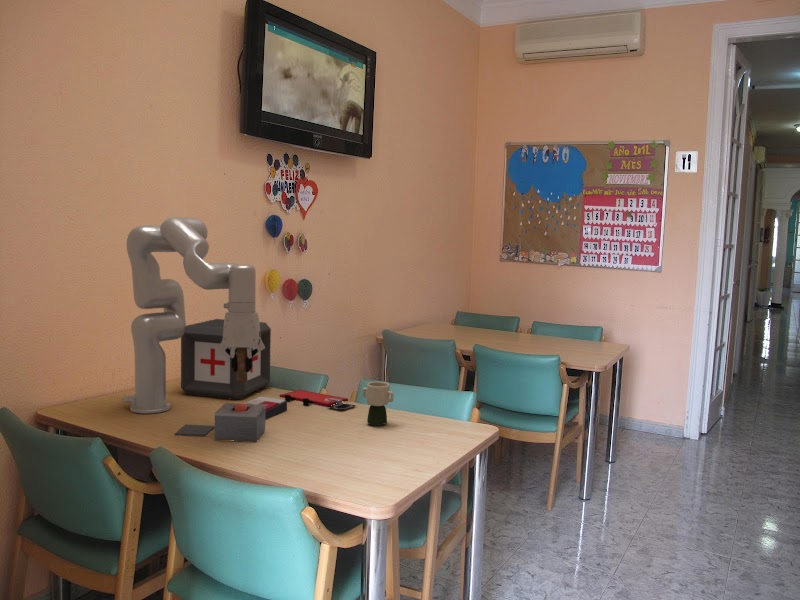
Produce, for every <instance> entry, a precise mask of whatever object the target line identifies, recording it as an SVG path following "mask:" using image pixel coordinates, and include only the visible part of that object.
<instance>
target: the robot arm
mask: <svg viewBox="0 0 800 600" xmlns="http://www.w3.org/2000/svg"><path fill="white" fill-rule="evenodd" d="M207 238H208V228H207V226H206V224H205V222H204V221H203V220H201V219H200V218H196V217H182V216H181V217H177V216H176V217H175V216H174V217H168V218H167V219H165V220H164V221H163V222H162V223H161V224H160V225H155V224H154V225H149V224H148V225H147V224H146V225H139V226H136V227H134V228H132V229H131V230H130V231H129V233H128V235H127V239H126V252H127V255H128V259H129V262H130V266H131V277H132V290H133V300H134V304H135V306H136V307H137V308H138V309H143V310H154V309H163V311H162V312H149V313H143V314H140V315H137V316H136V317H134V319H133V320H132V321H131V324H130V332H131V336H132V341H133V347H134V348H133V349H134V395H123V398H122V401H123V403H125V404H127V403H128V404H129V403H130V404H131V405H130V406H129V411H130V412H132V413H135V414H141V415H142V414H146V415H147V414H157V413H158V414H159V413H164V412H166V411H169V410H170V409H171V407H172V405H171V403H170V402H168V401H166V400H167V398H166V397H167V393H166V392H167V389H166V387H167V382H166V381H167V377H166V374H167V373H166V372H167V364H166V363H167V362H166V361H167V359H166V358H167V357H166V353H165V350H164V348H163V347H162V346H161V344H160V342H165V341H166V342H168V341H175V340H178V339H181V337H182V336H183V334H184V332H185V327H186V326H187V325H186V324H187V323H186V311H185V310H186V309H185V297H184V291H183V289H182V288H183V287H182V286H181V284H180V283H179V282H178V281H177V280H175V279H171V278H163V279H161V269H160V264H159V262H158V260H157V259H156V257H155V256H154V255H153V254H152V253H178V254H179V255H180V256H181V257H182V266H183V269H184V272H185V274H186V276H187V277H188V279H190V280H191V281H192V282H193V283H194V284H195V285H197V286H198V287H199V288H200V289H203V290H207V291H208V290H228V301H227V303H223V309H227V312H225V313H224V314H225V315H224V327H223V340H222V342H221V344H220V346H219V348H220V349H222V350H224V351H226V352H227V353H228V354H229V355H230V357H231V358H232V368H233V372H236V371H237V348H247V358H246V372H249V371H250V370H251V369H252V366H253V356H254V355H255V354H256V353H257V352H259V351H261V350H263V349H265V346H264V344H263V342H262V340H261V336H260V324H259V322H260V318H259V313H258V312H256V278H257V277H256V268H255V266H254V265H251V264H239V263H234V262H216V263H215V262H214V263H213V262H211V263H207V262H206V261H205V260H203V259H205V258H206V256H207V255H208V252H209V250H210V245H209V242H208V240H207ZM257 346H258V348H256V349H254V350H253V348H255V347H257Z"/></svg>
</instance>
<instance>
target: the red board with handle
mask: <svg viewBox="0 0 800 600" xmlns="http://www.w3.org/2000/svg"><path fill="white" fill-rule="evenodd" d="M278 397H279V398H284V400H285V401H287V403H291V402H292V401H298V402H301V403H302V406H303V407H310V405H317V406H321V407H326V406H327V407H326V408H330V409H336V410H341V411H342V410H346V409H350V408H353V407H357V406H358V405H355V404H352V403H346V404H343V403H342V401H347V402H348V401H349V398H345V397H340V396H335V395H331V394H330V395H329V394H324V393H320V392H315V391H314V392H313V391H309V390H303V389H299V390H298V389H297V390H295V391H291V392H286V393H282V394H281V393H280V394H279V396H278ZM338 400H339V401H338ZM336 403H337V404H336ZM333 404H335V405H333ZM331 405H332V406H331Z"/></svg>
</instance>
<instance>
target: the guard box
mask: <svg viewBox="0 0 800 600" xmlns="http://www.w3.org/2000/svg"><path fill="white" fill-rule="evenodd" d="M236 404H238V403H233V402H225V403H223V405H221V406H220V407H219V409H217V410H215V412H214V426H215V428H214V441H221V440H234V441H233V442H245V441H254V442H253V443H257V442H258V441H259V439H260V438H261V437H262V436H263V434H264V433H265V432H266V420H265V406H266V405H263V404H246V405H247V411H235V405H236ZM257 440H258V441H257Z"/></svg>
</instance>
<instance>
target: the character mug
mask: <svg viewBox="0 0 800 600" xmlns="http://www.w3.org/2000/svg"><path fill="white" fill-rule="evenodd" d="M390 389H391V387H390V383H388V382H385V381H371V382H368V383H367V384H366V387H365V386H364V387H363V388H362V397H363V398H365V399H366V404H367V405H370V406H369V408H368V412H367V420H366V422H367V423H368V424H369V425H370V426H371V425H372V426H382V425H384V424H388V415H387V408H386V406H387V405H388V404H389V402H390V403H393V402H394V392H393V391H390ZM381 424H382V425H381Z"/></svg>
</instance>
